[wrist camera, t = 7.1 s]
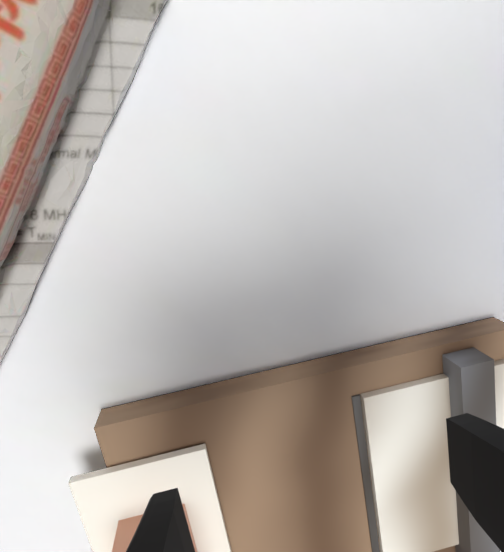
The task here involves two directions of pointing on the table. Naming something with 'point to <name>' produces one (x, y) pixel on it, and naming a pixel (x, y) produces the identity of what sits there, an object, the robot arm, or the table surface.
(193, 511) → the stub
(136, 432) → the board
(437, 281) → the table surface
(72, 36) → the packaged product
